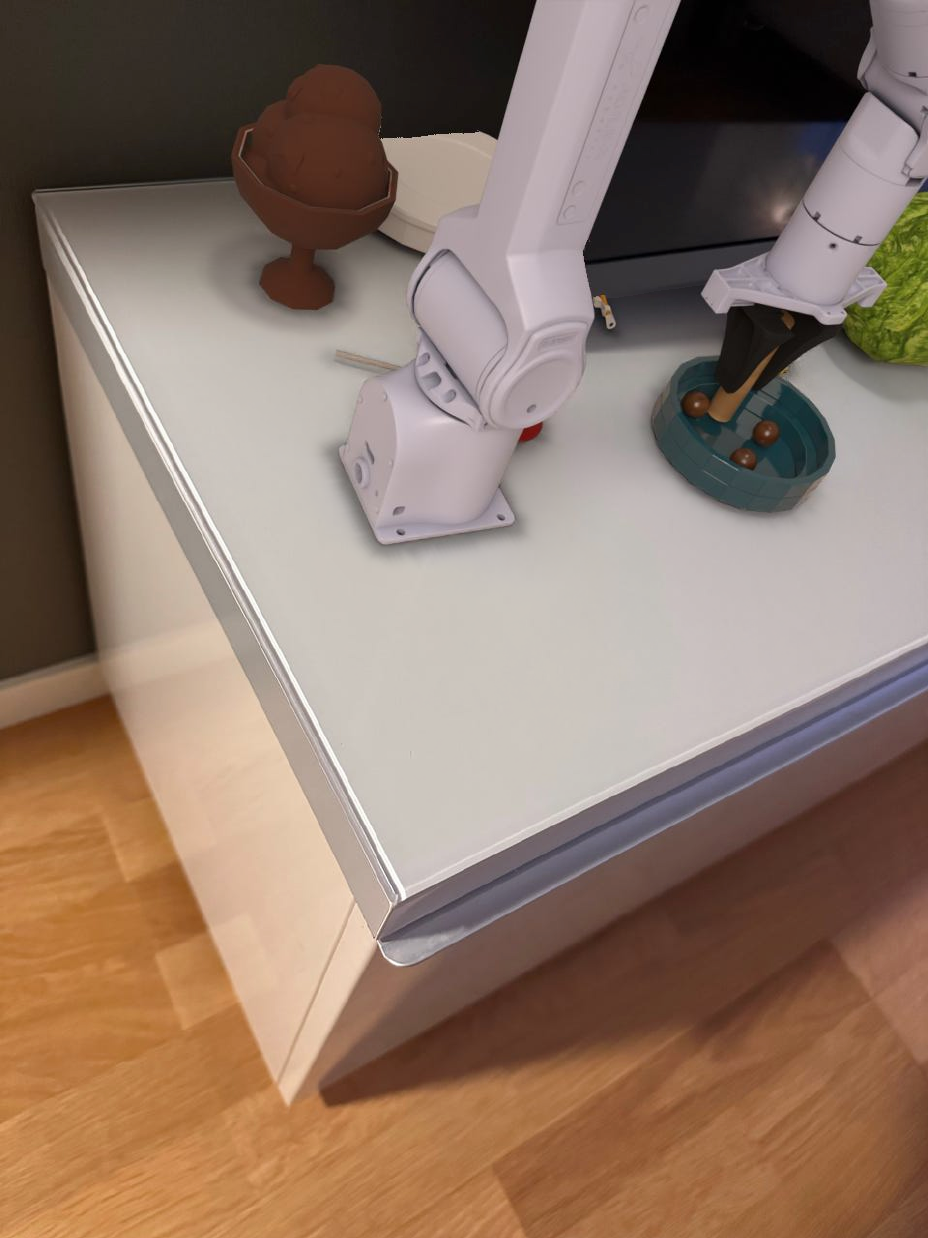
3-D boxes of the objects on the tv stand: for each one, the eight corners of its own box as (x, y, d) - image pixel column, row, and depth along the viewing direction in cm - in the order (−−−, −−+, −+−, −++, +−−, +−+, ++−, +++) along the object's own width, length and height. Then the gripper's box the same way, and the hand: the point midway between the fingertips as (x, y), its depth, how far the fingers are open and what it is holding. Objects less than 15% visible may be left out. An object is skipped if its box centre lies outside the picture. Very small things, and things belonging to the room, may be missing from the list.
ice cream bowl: (207, 235, 70) (224, 18, 58) (354, 245, 74) (396, 45, 63) (232, 331, 65) (255, 114, 53) (388, 336, 69) (441, 136, 57)
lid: (594, 224, 86) (606, 193, 83) (450, 290, 74) (460, 256, 71) (453, 126, 90) (461, 93, 87) (297, 173, 78) (301, 137, 76)
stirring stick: (715, 423, 72) (778, 326, 65) (702, 404, 73) (763, 307, 66) (735, 421, 73) (800, 325, 66) (722, 402, 74) (784, 306, 67)
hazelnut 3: (756, 453, 72) (770, 434, 71) (742, 434, 73) (756, 415, 72) (775, 450, 73) (789, 431, 72) (762, 432, 74) (775, 413, 73)
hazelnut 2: (732, 482, 69) (746, 463, 68) (718, 462, 70) (732, 443, 69) (753, 479, 70) (767, 460, 69) (739, 459, 71) (752, 440, 70)
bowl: (707, 528, 66) (732, 494, 64) (619, 396, 72) (639, 360, 70) (841, 504, 72) (869, 473, 70) (749, 384, 78) (772, 351, 76)
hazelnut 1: (699, 417, 71) (683, 396, 71) (689, 426, 73) (673, 406, 73) (719, 402, 71) (702, 381, 71) (708, 412, 73) (692, 391, 73)
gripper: (794, 258, 55) (686, 429, 66) (958, 256, 61) (836, 413, 72) (731, 185, 58) (638, 360, 69) (893, 191, 65) (785, 350, 75)
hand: (736, 382), depth 71 cm, fingers closed on stirring stick, 2 cm apart
